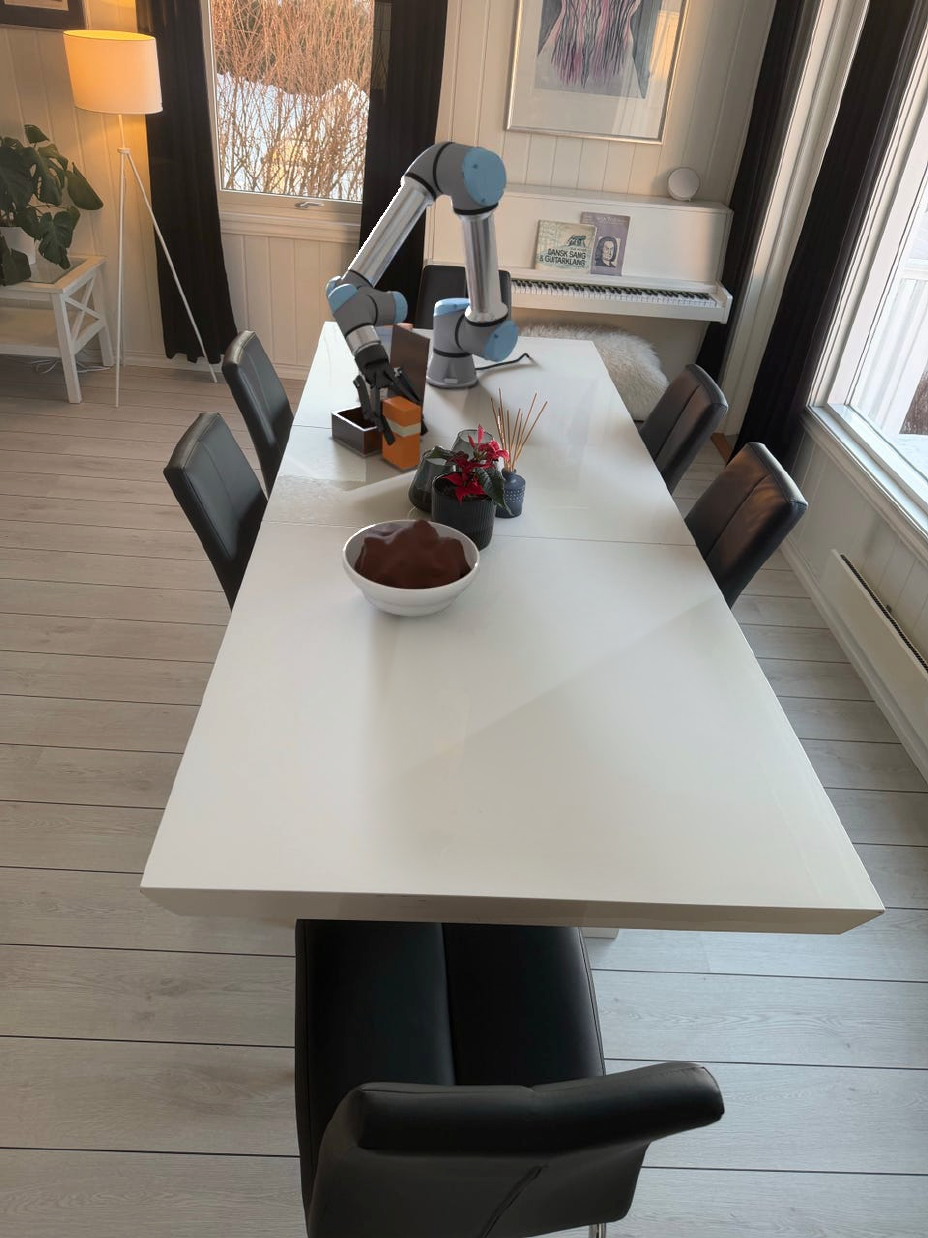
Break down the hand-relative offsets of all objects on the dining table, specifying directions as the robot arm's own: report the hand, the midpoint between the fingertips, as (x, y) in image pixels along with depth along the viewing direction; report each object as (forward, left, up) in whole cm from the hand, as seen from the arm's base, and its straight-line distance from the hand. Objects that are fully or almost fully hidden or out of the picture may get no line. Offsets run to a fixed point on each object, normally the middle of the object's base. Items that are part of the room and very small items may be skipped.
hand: (408, 438), depth 198 cm
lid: (-13, -17, +9) cm, 23 cm away
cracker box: (-22, -37, -8) cm, 44 cm away
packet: (0, -3, -8) cm, 8 cm away
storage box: (-4, -17, -8) cm, 19 cm away
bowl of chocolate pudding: (+33, +43, -8) cm, 55 cm away
